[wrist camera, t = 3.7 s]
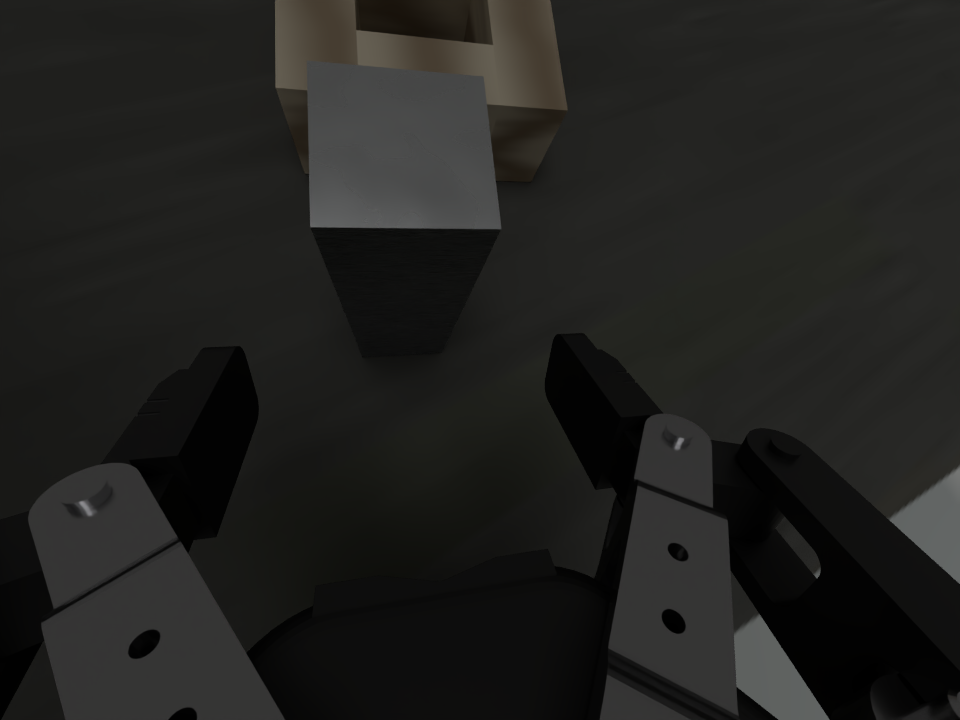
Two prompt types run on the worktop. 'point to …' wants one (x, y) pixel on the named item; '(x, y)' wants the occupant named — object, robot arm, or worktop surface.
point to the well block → (435, 61)
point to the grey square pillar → (400, 198)
